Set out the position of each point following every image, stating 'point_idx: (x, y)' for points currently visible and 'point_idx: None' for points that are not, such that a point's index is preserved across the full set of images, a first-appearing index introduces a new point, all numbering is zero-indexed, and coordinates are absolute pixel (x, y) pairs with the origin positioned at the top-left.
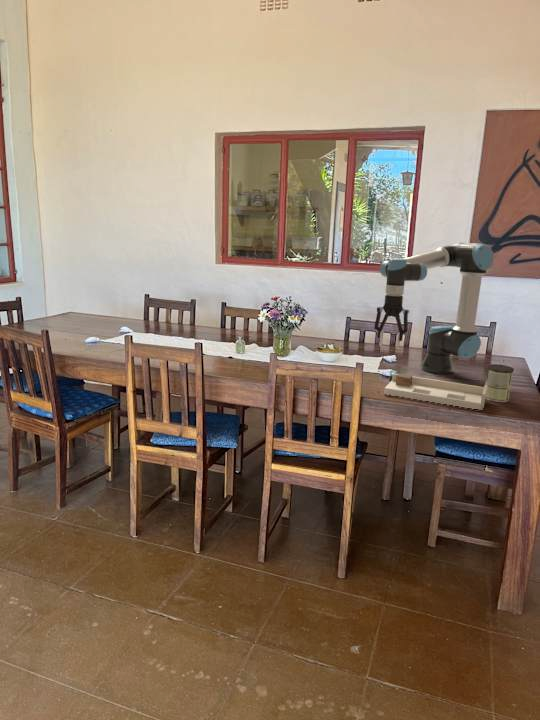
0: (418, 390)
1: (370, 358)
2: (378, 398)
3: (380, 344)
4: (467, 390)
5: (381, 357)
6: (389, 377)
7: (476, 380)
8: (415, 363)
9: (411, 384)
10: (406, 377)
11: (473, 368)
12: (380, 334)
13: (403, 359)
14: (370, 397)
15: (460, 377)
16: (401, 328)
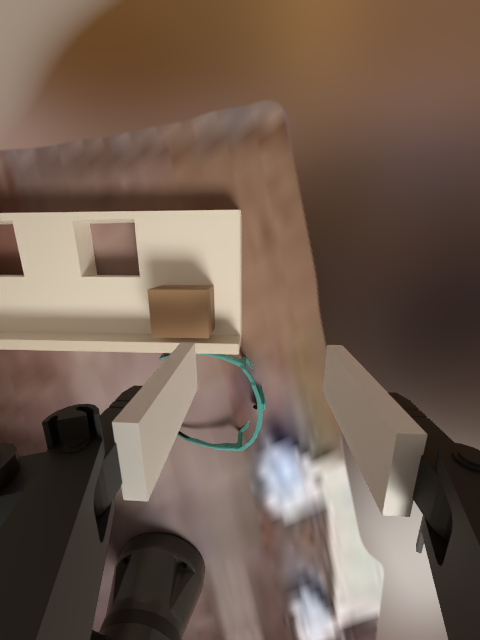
0: (128, 276)
1: (370, 600)
2: (249, 150)
3: (336, 351)
4: None
5: (338, 621)
6: (263, 399)
7: None
8: (232, 601)
9: None
10: (163, 289)
11: None
12: (396, 405)
13: (273, 625)
14: (279, 144)
15: None
16: (15, 532)
